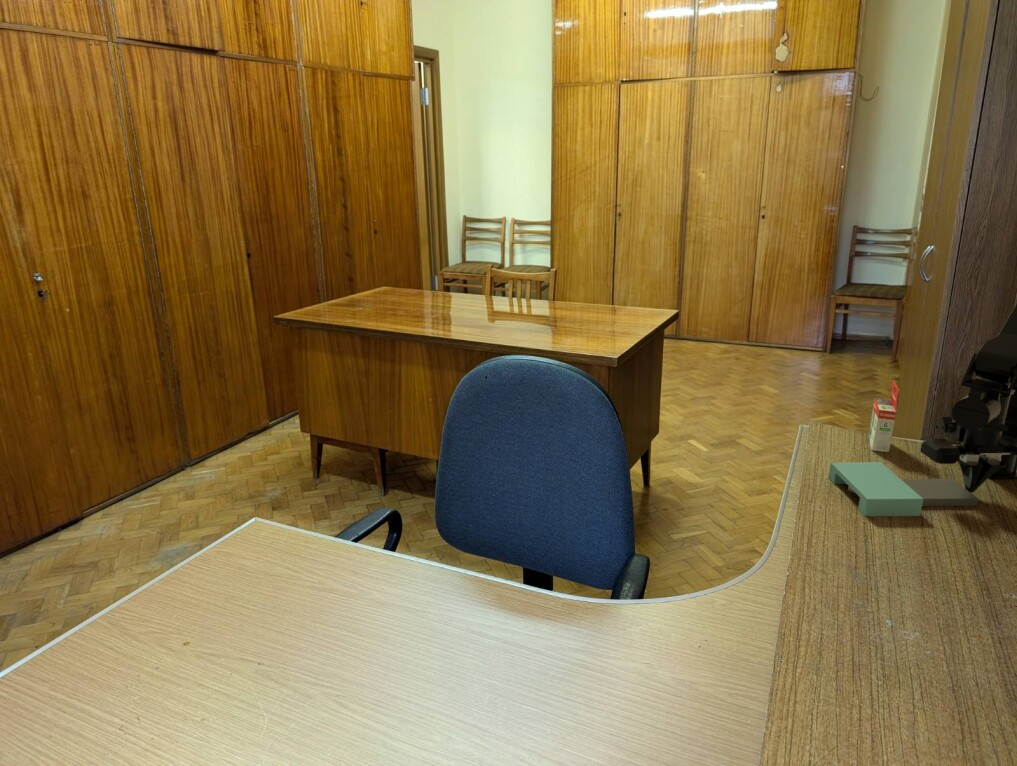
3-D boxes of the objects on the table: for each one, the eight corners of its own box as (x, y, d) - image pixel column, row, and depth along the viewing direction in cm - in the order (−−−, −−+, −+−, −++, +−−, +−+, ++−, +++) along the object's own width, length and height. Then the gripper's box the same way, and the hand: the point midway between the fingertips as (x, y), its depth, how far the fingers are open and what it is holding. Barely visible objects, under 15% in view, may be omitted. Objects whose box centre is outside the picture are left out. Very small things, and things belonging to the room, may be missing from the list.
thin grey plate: (951, 485, 135) (952, 479, 135) (976, 505, 128) (978, 498, 127) (894, 486, 136) (896, 479, 135) (917, 505, 128) (918, 498, 128)
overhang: (878, 477, 139) (880, 462, 138) (919, 515, 125) (923, 498, 124) (828, 478, 139) (830, 462, 138) (864, 516, 125) (867, 499, 124)
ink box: (871, 451, 152) (881, 388, 147) (866, 437, 159) (876, 377, 154) (889, 453, 150) (900, 390, 146) (884, 439, 157) (894, 379, 153)
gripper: (1007, 400, 134) (990, 472, 139) (911, 401, 134) (898, 473, 139) (1049, 421, 123) (1030, 498, 128) (945, 422, 123) (929, 499, 128)
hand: (969, 491), depth 131 cm, fingers closed
